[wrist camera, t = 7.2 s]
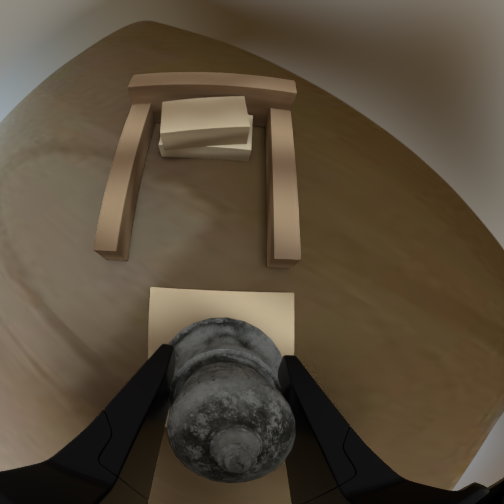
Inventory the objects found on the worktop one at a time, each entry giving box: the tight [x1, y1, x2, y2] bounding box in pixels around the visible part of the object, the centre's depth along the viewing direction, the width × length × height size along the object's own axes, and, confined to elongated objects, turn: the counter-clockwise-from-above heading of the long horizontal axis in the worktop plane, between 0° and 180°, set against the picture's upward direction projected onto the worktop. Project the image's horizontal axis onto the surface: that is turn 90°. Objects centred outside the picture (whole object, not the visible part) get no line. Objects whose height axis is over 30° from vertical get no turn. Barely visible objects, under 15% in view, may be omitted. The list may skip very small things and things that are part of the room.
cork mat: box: [148, 287, 294, 427], centre depth 16 cm, size 9×9×1 cm
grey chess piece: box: [167, 317, 296, 483], centre depth 9 cm, size 6×6×12 cm
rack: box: [93, 72, 301, 268], centre depth 17 cm, size 14×13×4 cm
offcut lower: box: [159, 115, 253, 162], centre depth 20 cm, size 4×7×2 cm, turn 88°
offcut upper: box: [160, 96, 250, 151], centre depth 18 cm, size 3×6×2 cm, turn 98°
